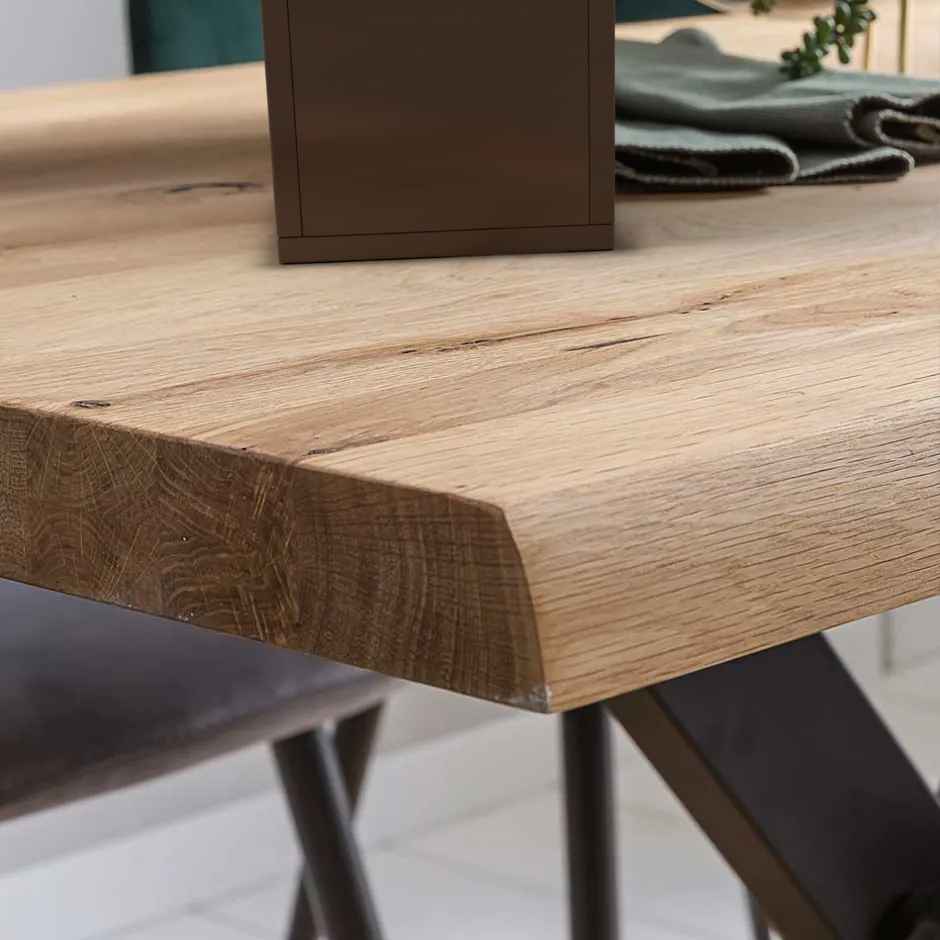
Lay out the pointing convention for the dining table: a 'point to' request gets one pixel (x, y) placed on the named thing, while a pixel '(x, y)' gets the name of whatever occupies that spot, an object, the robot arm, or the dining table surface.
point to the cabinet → (440, 127)
